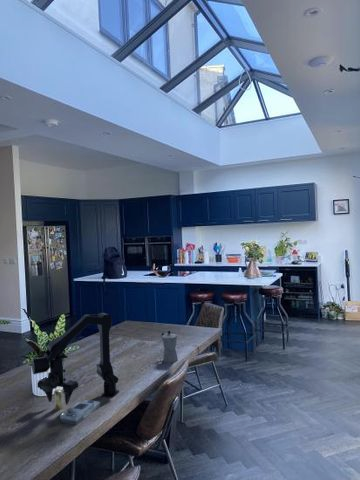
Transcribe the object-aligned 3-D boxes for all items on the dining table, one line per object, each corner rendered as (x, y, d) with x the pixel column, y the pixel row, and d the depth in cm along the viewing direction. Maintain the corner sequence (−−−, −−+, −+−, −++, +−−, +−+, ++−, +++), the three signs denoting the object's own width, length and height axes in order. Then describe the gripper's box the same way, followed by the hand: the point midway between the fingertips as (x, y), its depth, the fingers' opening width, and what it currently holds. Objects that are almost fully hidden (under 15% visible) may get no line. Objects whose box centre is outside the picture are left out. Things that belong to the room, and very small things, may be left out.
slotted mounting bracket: (85, 403, 175) (85, 395, 175) (100, 405, 172) (100, 397, 172) (60, 421, 158) (60, 413, 158) (76, 424, 155) (75, 416, 155)
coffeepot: (182, 361, 225) (181, 331, 225) (169, 365, 220) (168, 334, 220) (169, 354, 238) (168, 326, 238) (156, 358, 233) (155, 329, 233)
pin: (58, 406, 173) (57, 389, 173) (63, 407, 172) (63, 390, 172) (53, 409, 170) (52, 392, 170) (59, 410, 169) (58, 392, 169)
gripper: (27, 373, 166) (29, 408, 167) (62, 377, 160) (64, 413, 160) (45, 364, 177) (46, 397, 177) (78, 368, 170) (79, 402, 170)
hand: (58, 402), depth 171 cm, fingers open, 9 cm apart
